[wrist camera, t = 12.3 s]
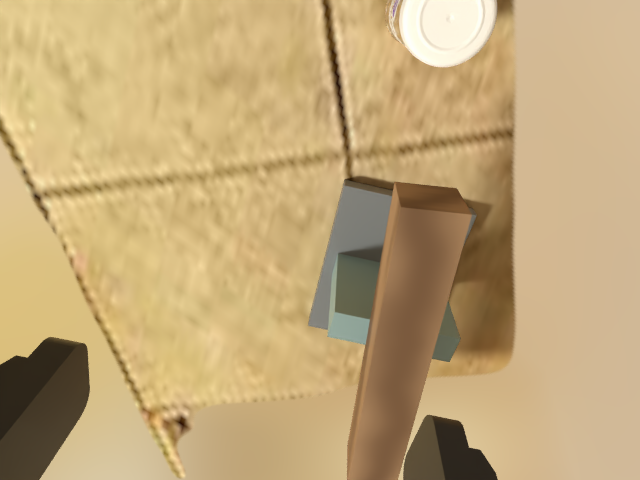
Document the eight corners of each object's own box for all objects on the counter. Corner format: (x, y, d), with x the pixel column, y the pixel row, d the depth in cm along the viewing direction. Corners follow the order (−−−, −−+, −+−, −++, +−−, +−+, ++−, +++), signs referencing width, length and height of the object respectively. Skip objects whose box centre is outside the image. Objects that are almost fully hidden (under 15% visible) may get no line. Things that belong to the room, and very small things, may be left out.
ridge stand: (309, 316, 47) (299, 392, 38) (344, 179, 39) (342, 232, 30) (417, 339, 47) (433, 420, 38) (472, 208, 40) (509, 269, 31)
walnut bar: (347, 445, 40) (347, 487, 37) (394, 181, 28) (400, 207, 25) (390, 450, 40) (394, 492, 37) (456, 188, 28) (472, 214, 24)
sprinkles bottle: (389, -25, 32) (412, -44, 20) (452, -19, 32) (512, -34, 20) (379, 43, 34) (395, 63, 22) (438, 49, 34) (485, 73, 22)
